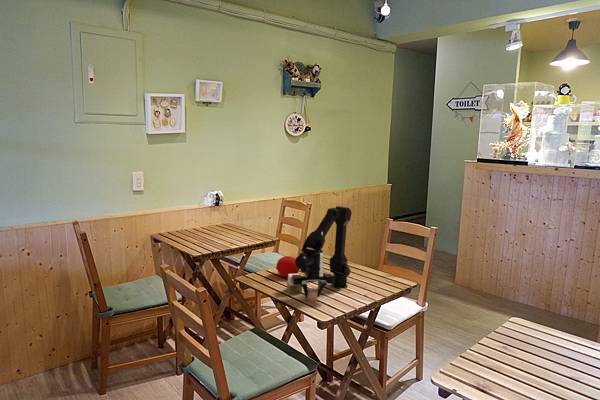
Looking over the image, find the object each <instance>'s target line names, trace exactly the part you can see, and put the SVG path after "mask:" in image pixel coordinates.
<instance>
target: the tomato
mask: <svg viewBox="0 0 600 400" xmlns="http://www.w3.org/2000/svg"><path fill="white" fill-rule="evenodd" d="M296 258H297V257H295V256H290V255H288V256H287V255H285V256H283V257H280V258H279V259H278V260H277V263H276V266H275V268H276V271H277V273H278V274H280V275H281V276H283V277H285V278H288V274H299V272H300V269H299V268H297V266H296V265H295V260H296Z"/></svg>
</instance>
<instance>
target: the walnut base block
mask: <svg viewBox="0 0 600 400" xmlns="http://www.w3.org/2000/svg"><path fill="white" fill-rule="evenodd" d="M286 283H287V284H286V290H287V292H288V294H289V295H292V294H293V295H294V294H296V295H297V294H302V293H303V287H302V286H300V285H295V286H290V285H289V283H288V281H287V282H286Z"/></svg>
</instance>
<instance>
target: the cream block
mask: <svg viewBox="0 0 600 400" xmlns="http://www.w3.org/2000/svg"><path fill="white" fill-rule="evenodd" d="M292 275H300V274H299V273H297V274H288V277H287V282H288V283H289V285H290V286H295V285H293V283H292V281H291V277H292Z"/></svg>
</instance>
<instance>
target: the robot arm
mask: <svg viewBox="0 0 600 400" xmlns="http://www.w3.org/2000/svg"><path fill="white" fill-rule="evenodd" d="M352 215H353V212H352V210H351V208H350V207H348V206H347V207H346V206H339V205H337V206H336V207H331V208H327V211H326V214H325V215H324V217H323V218H322V219H321V222H320V223H319V225H318V226H317V227H316V229H315V230H313V231H312V232H310V233H309V235H307V236H306V238H305V241H304V243H303V245H302V248H301V250H300V252H299V254H298V256H296V257H295V258H296V260H295V265H296V266H297V268H299V272H300V273H304V276H302V275H301V274H299V275H292V277H291V281H292V283H293V285H300V286H302V291H303V292H304V296H305V299H306V298H307V289H308V284H307V282H317V284H318V285H317V290H318V298H320V295H321V294H322V291H323V290H324V288H325V287H326V286H328V284H331V285H332V286H333V287H334V288H340V289H341V288H348V285H347V284H348V283H347V282H348V281H347V280H348V276H350V275H351V270H352V269H350V267H349V265H348V259H347V256H346V255H345V253H346V252H345V251H346V250H345V249H346V240H347V239H346V237H347V226H348V224H349V223H350V222H351V217H352ZM334 223H335V226H336V227H335V238H334V239H335V241H334V253H333V255H332V256H331V257H330V258H329V264H328V265H329V270H330V273H323V276H319V274H320V253H322V254H324V253H323V252H324V251H323V250H322V248H323V247H324V245H325V243H326V236H327V234H328V233H329V231H330V229H331V227H332V226H333V224H334ZM331 273H332V274H331ZM305 276H307V277H305Z"/></svg>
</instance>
